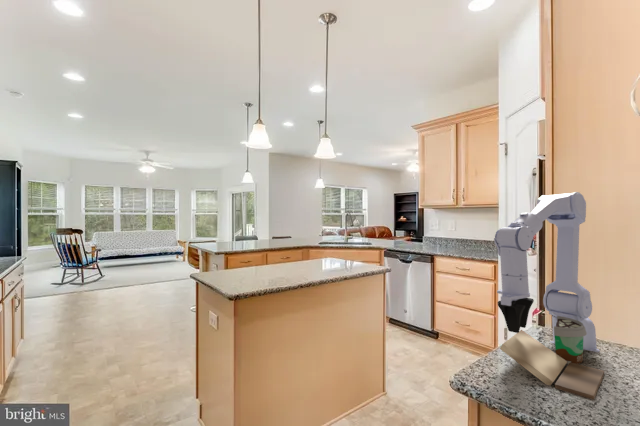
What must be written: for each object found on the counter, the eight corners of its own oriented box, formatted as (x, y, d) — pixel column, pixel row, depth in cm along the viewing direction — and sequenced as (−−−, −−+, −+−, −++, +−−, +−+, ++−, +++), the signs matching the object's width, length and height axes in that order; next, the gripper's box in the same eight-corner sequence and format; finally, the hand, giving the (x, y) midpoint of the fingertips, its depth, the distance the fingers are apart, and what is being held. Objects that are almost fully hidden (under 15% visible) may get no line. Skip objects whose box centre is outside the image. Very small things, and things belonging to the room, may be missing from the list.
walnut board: (570, 369, 75) (569, 362, 75) (604, 378, 70) (604, 370, 70) (555, 392, 65) (554, 384, 65) (594, 404, 61) (593, 395, 61)
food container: (589, 375, 72) (586, 332, 72) (556, 368, 76) (553, 327, 76) (588, 357, 81) (586, 319, 82) (559, 351, 85) (556, 315, 86)
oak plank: (564, 366, 76) (567, 361, 75) (549, 386, 66) (553, 382, 66) (518, 334, 83) (521, 329, 82) (499, 348, 74) (502, 343, 73)
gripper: (506, 269, 86) (509, 319, 85) (486, 276, 76) (488, 332, 75) (536, 272, 80) (539, 325, 80) (518, 279, 71) (522, 339, 70)
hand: (517, 329), depth 77 cm, fingers open, 5 cm apart
